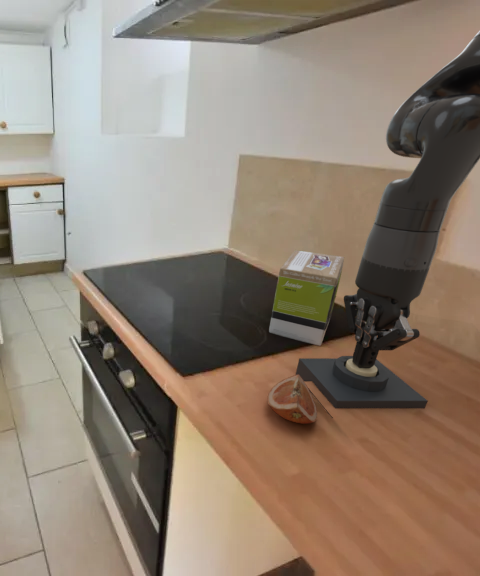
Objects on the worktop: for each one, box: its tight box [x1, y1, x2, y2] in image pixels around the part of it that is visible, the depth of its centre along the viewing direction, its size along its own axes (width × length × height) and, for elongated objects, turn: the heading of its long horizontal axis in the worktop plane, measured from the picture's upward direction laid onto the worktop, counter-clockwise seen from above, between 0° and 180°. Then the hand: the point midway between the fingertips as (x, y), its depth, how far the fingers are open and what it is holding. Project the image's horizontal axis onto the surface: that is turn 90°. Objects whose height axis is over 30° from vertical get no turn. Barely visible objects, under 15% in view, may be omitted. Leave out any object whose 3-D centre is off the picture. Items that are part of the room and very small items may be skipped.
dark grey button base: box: [295, 355, 428, 419], centre depth 60 cm, size 13×11×5 cm
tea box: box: [268, 249, 345, 347], centre depth 79 cm, size 15×10×15 cm
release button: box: [345, 359, 378, 377], centre depth 59 cm, size 4×4×2 cm
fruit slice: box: [267, 374, 318, 425], centre depth 55 cm, size 8×7×5 cm
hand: (361, 365), depth 58 cm, fingers closed
